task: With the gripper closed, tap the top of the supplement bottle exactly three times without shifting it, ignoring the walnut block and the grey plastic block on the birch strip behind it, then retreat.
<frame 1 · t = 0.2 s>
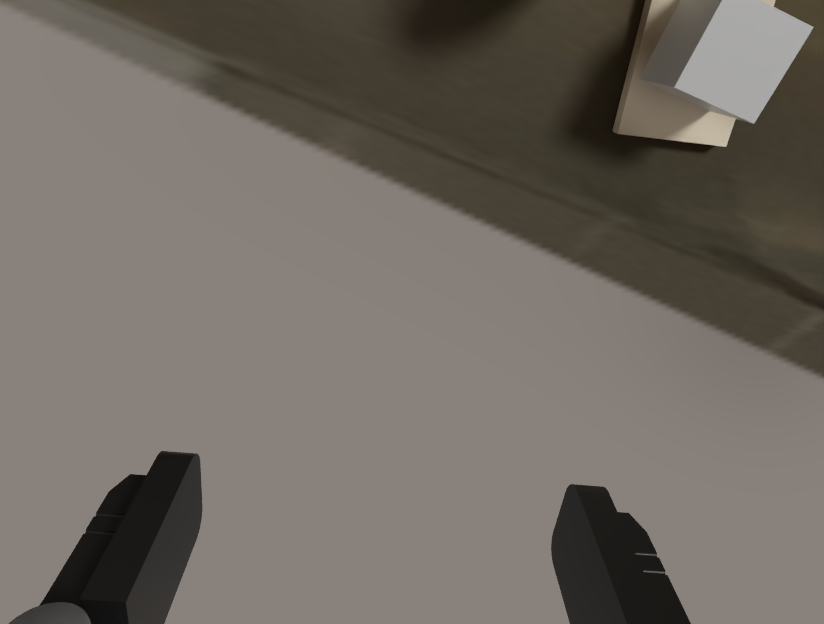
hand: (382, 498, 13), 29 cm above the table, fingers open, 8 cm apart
grey block: (698, 53, 35), point 1 cm above the table, touching birch strip
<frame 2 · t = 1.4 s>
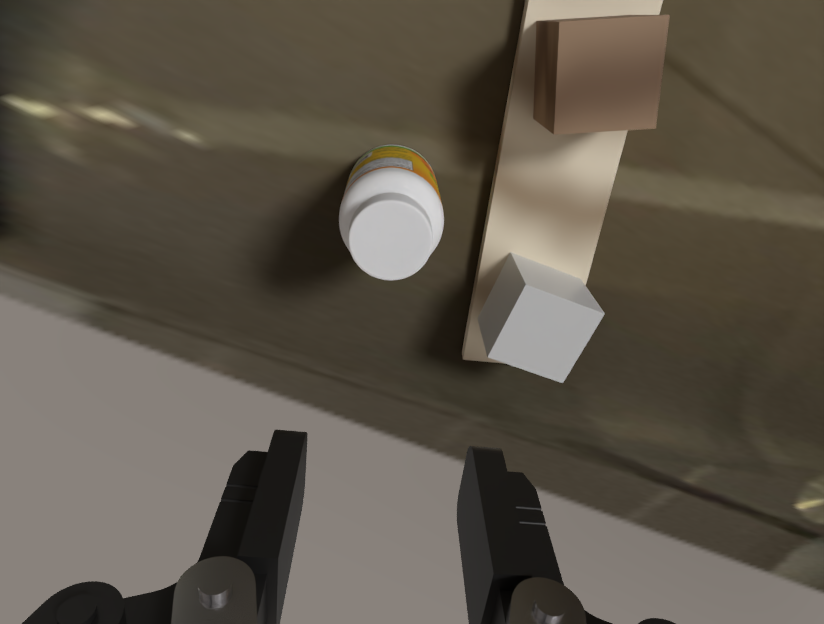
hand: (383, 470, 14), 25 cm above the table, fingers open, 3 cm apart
grey block: (528, 298, 39), point 1 cm above the table, touching birch strip
supplement bottle: (392, 187, 37), on the table
birch strip: (548, 189, 37), on the table
walnut block: (580, 68, 33), point 1 cm above the table, touching birch strip
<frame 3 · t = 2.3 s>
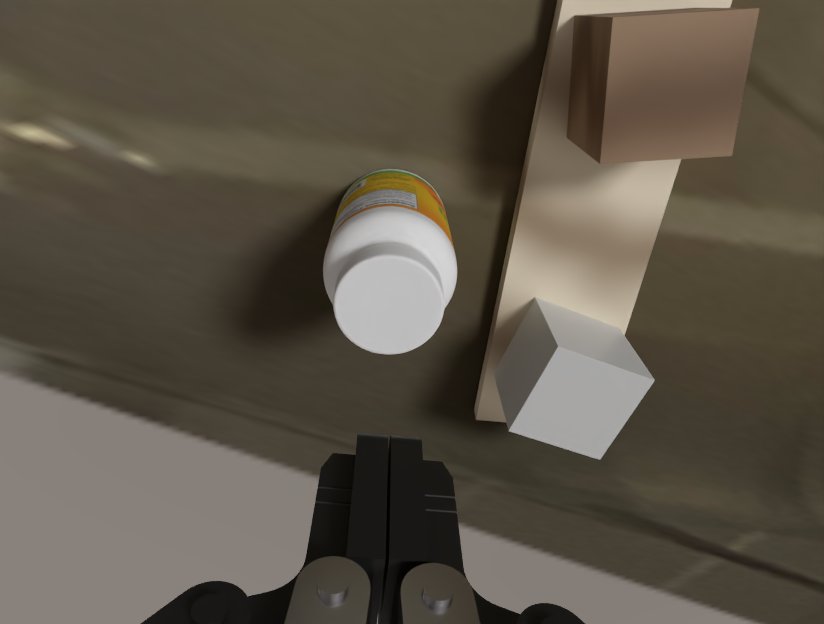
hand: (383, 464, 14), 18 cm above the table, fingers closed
grey block: (555, 350, 32), point 1 cm above the table, touching birch strip
supplement bottle: (391, 219, 30), on the table
birch strip: (581, 221, 30), on the table
walnut block: (627, 75, 26), point 1 cm above the table, touching birch strip
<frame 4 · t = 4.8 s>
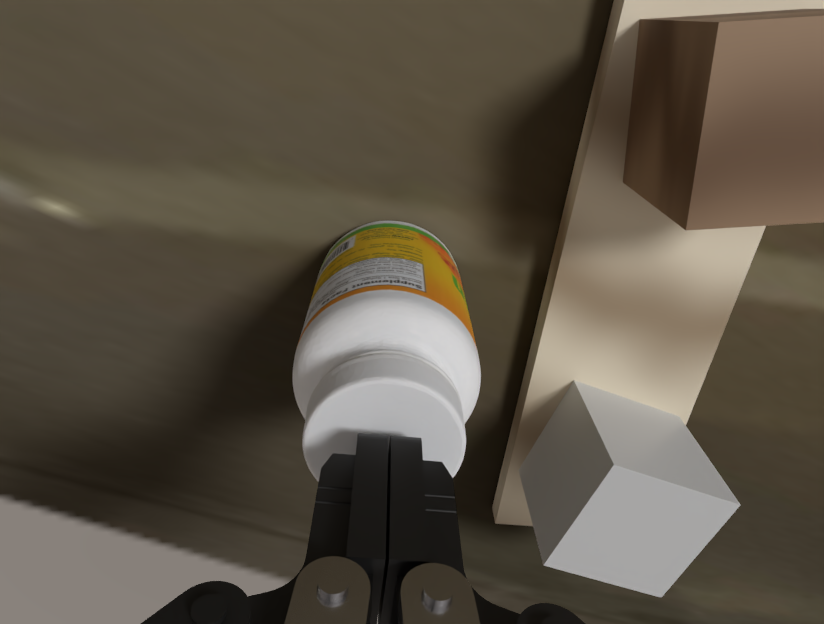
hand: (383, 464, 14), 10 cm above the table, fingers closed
grey block: (596, 443, 25), point 1 cm above the table, touching birch strip
supplement bottle: (389, 281, 23), on the table
birch strip: (635, 285, 23), on the table
walnut block: (708, 100, 19), point 1 cm above the table, touching birch strip
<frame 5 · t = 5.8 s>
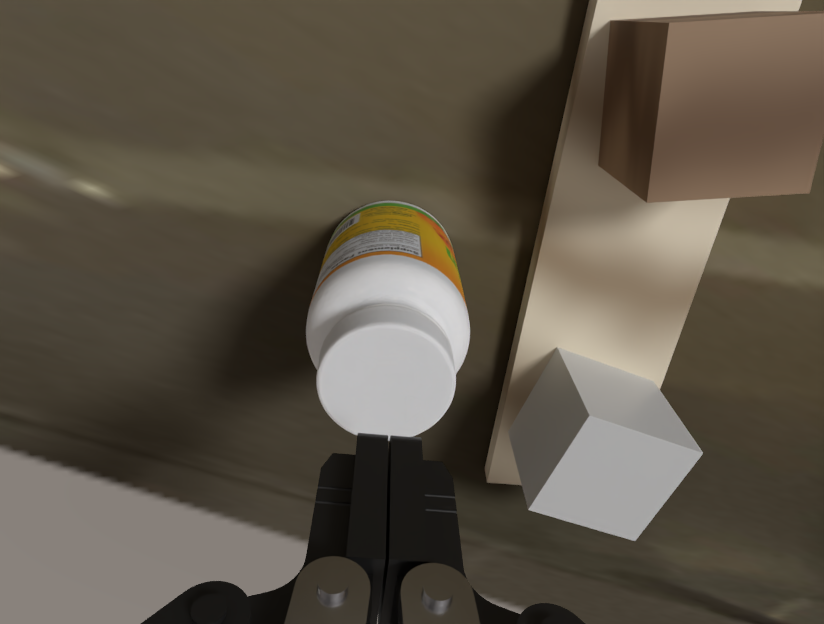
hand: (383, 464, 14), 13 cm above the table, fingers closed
grey block: (579, 406, 28), point 1 cm above the table, touching birch strip
supplement bottle: (390, 257, 26), on the table
birch strip: (612, 260, 26), on the table
walnut block: (672, 92, 22), point 1 cm above the table, touching birch strip
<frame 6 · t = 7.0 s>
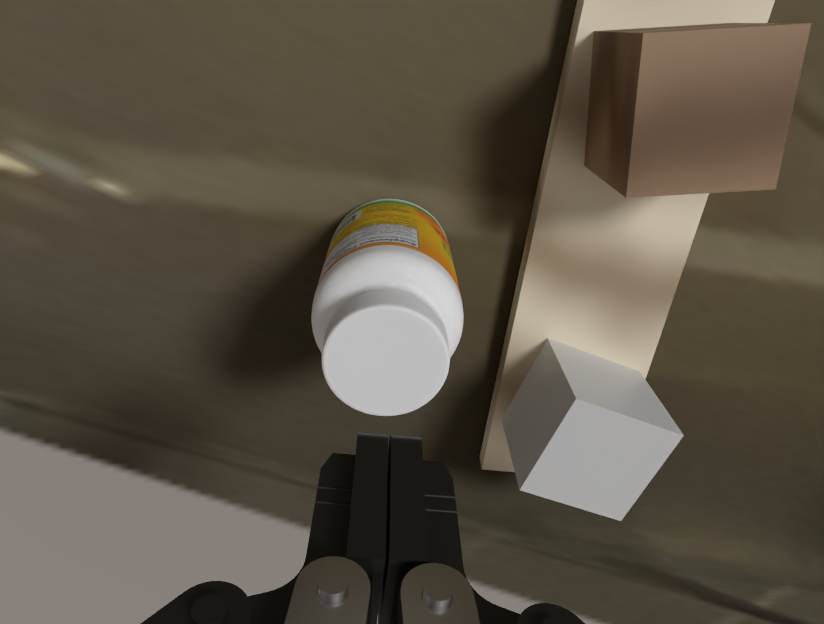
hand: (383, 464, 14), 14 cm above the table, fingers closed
grey block: (569, 395, 29), point 1 cm above the table, touching birch strip
supplement bottle: (390, 252, 27), on the table
birch strip: (599, 255, 27), on the table
walnut block: (652, 97, 23), point 1 cm above the table, touching birch strip
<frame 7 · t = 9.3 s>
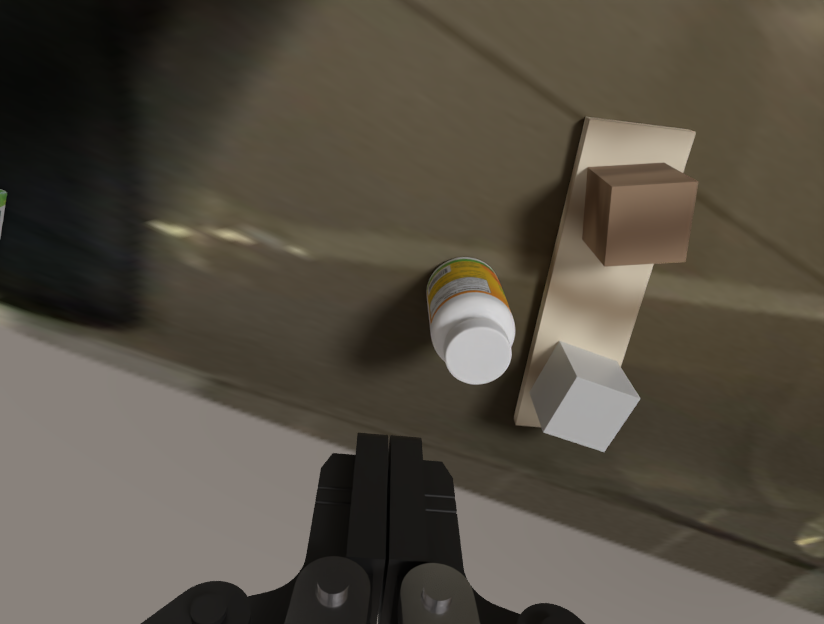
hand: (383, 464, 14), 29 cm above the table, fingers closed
grey block: (572, 376, 46), point 1 cm above the table, touching birch strip
supplement bottle: (462, 288, 44), on the table
birch strip: (591, 290, 44), on the table
walnut block: (621, 202, 40), point 1 cm above the table, touching birch strip
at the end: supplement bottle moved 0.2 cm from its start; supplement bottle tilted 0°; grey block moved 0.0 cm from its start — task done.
